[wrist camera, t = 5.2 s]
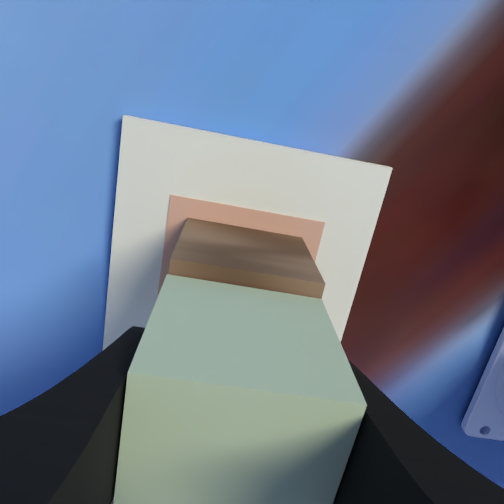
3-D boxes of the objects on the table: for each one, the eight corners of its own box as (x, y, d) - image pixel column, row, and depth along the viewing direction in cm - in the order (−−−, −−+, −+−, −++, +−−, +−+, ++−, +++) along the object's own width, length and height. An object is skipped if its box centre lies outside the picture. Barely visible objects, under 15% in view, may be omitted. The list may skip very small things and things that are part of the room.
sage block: (321, 298, 12) (367, 405, 8) (288, 421, 14) (311, 564, 9) (166, 274, 12) (127, 372, 7) (149, 403, 13) (108, 545, 9)
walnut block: (301, 237, 16) (325, 283, 12) (278, 336, 18) (291, 408, 14) (187, 217, 16) (170, 258, 12) (172, 320, 17) (152, 390, 13)
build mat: (388, 166, 16) (393, 168, 16) (291, 494, 21) (293, 502, 21) (125, 114, 15) (122, 115, 15) (93, 472, 20) (90, 480, 20)
